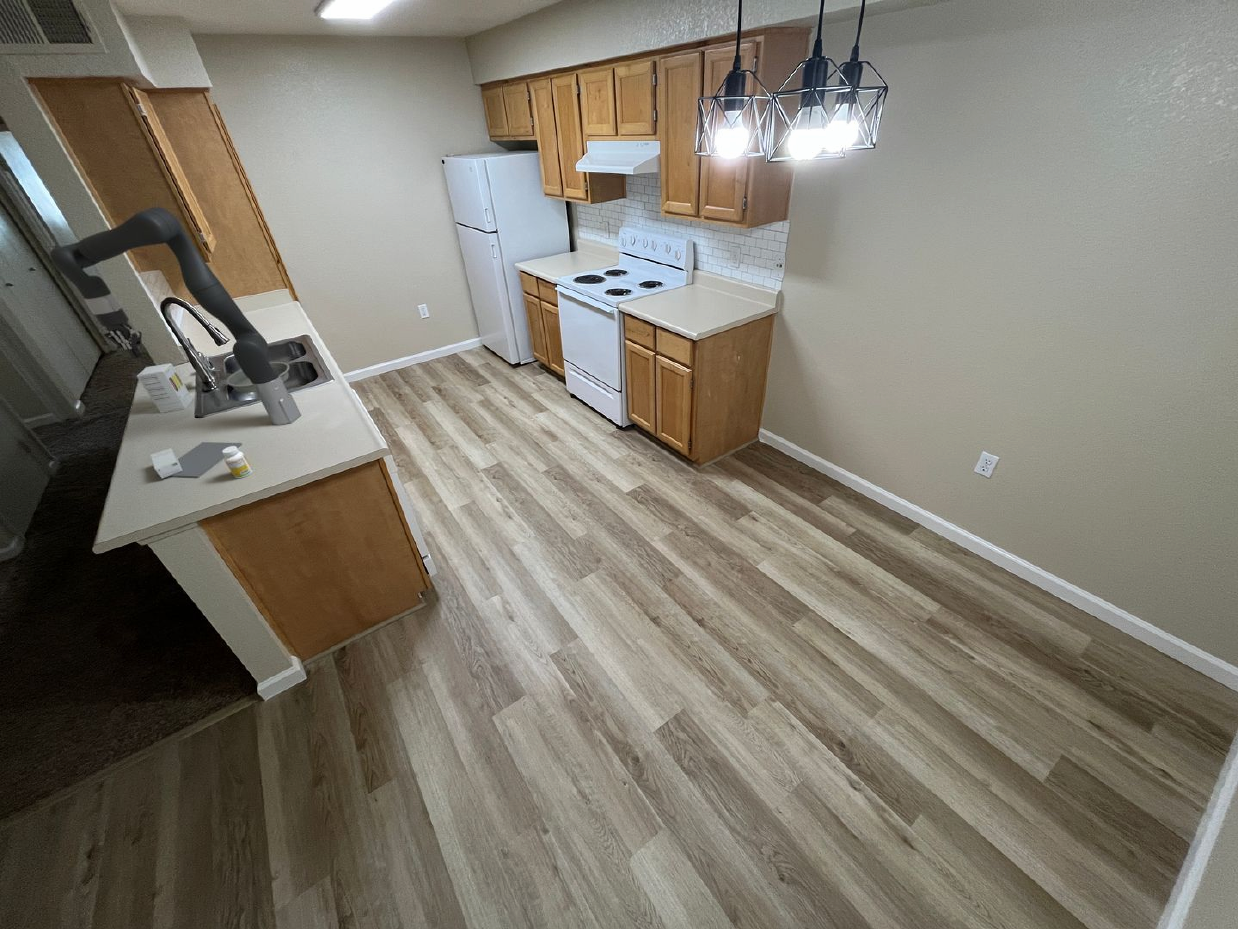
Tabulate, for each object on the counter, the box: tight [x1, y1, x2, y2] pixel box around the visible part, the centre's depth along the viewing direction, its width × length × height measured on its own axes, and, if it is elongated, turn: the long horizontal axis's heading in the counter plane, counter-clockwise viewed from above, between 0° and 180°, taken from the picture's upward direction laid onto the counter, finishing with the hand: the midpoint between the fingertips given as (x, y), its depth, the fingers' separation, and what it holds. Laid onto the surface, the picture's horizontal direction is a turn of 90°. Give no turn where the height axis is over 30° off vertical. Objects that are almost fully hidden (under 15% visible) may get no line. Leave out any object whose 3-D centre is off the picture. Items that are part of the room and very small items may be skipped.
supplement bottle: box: [222, 446, 254, 479], centre depth 165 cm, size 5×5×10 cm
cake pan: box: [225, 361, 290, 394], centre depth 226 cm, size 25×25×4 cm
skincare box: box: [150, 447, 183, 480], centre depth 170 cm, size 6×4×12 cm
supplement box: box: [136, 363, 194, 414], centre depth 207 cm, size 10×9×17 cm
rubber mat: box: [155, 441, 243, 479], centre depth 176 cm, size 16×20×1 cm
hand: (138, 358), depth 179 cm, fingers closed
